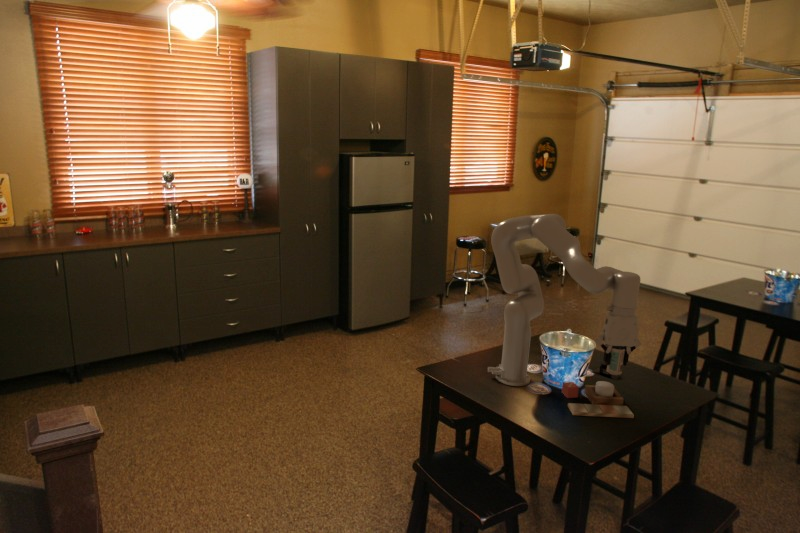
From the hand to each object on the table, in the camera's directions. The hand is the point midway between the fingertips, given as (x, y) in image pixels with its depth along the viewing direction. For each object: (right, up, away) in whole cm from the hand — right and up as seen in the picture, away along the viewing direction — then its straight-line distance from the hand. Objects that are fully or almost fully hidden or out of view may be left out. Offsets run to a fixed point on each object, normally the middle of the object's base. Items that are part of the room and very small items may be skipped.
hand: (615, 363), depth 191 cm
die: (-10, -14, +15) cm, 23 cm away
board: (-3, -17, +4) cm, 18 cm away
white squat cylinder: (+1, -14, +13) cm, 19 cm away
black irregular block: (+9, -11, +35) cm, 38 cm away
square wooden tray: (+1, -15, +13) cm, 20 cm away
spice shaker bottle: (0, -3, +1) cm, 4 cm away
